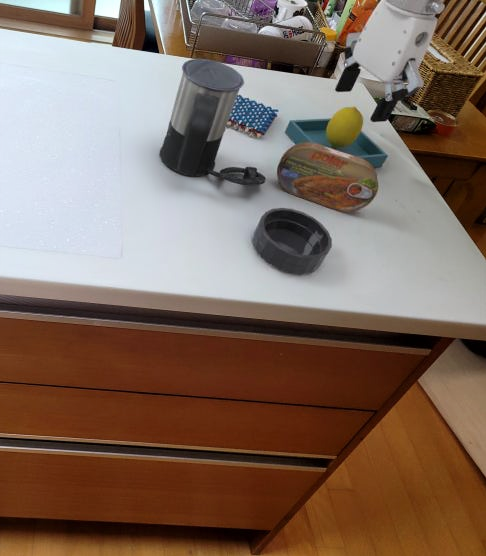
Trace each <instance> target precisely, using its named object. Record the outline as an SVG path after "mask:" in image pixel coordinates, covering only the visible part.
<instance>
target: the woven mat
mask: <svg viewBox="0 0 486 556" xmlns="http://www.w3.org/2000/svg"><path fill="white" fill-rule="evenodd" d="M278 113H279V109H277V108H274V107H272V106H268V105H266V106H265V104H264V103H263V102H259V101H257V100H252V99H250V97H246V96H243V95H242V94H238V95H237V98H236V100H235V103H234V106H233V109H232V112H231V115H230V117H229V120H228V123H227V126H230V127H231V126H232V129H234V130H236V129H237V128H238V132H240V133H241V132H243V131H244V133H247V134H248V133H249V138H254V136H255V134H256V137H257V139H260V138H261V137H262V136H265V135H266V133H267V131H268V130H269V128H270V127H271V125H272V124H273V122H274V121H275V119H276V118H277V117H278Z"/></svg>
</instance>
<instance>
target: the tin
mask: <svg viewBox="0 0 486 556" xmlns="http://www.w3.org/2000/svg"><path fill="white" fill-rule="evenodd" d="M276 177H277V182H278V183H279V185H280V186H281V188H282V189H283V190H284V191H285V192H286V193H289V194H290V195H293V196H296V197H298V198H301V199H304V200H307V201H310V202H313V203H316V204H319V205H321V206H324V207H327V208H330V209H332V210H335V211H338V212H346V213H348V212H356V211H358V210H362V209H364V208H365V207H367V206H368V205H370V203H372V202H373V201H374V199H375V198H376V196H377V194H378V191H379V179H378V174H377V171H376V168H374V167H373V166H372V165H371V164H370V163H369V162H367V161H366V160H364V159H361V158H359V157H356V156H353V155H349V154H347V153H343V152H340V151H337V150H334V149H331V148H328V147H325V146H322V145H319V144H316V143H312V142H304V143H299V144H294V145H292V146H291V147H289V148H288V149H287V150H286V151H285V152H284V153H283V154H282V156H281V158H280V160H279V162H278V165H277V168H276Z"/></svg>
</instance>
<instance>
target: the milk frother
mask: <svg viewBox="0 0 486 556" xmlns="http://www.w3.org/2000/svg"><path fill="white" fill-rule="evenodd" d="M181 70H182V75H181V78H180V82H179V85H178V88H177V93H176V96H175V99H174V103H173V108H172V111H171V116H170V119H169V123H168V126H167V131H166V134H165V137H164V138H163V139H164V140H163V142H162V145H161V148H160V150H159V158H160V160H161V161H162V163H163V164H164V165H165V166H167V168H169V169H171V170H172V171H174V172H177V173H179V174H181V175H185V176H189V177H193V176H194V177H200V176H205V175H208V174H210V175H212V176H214V177H216V178H218V179H221V180H224V181H226V182H230V183H233V184H238V185H243V186H262V185H264V184H265V183H266V180H267V177H266V176H265V175H264V174H262V173H260V172H259V171H258V168H257V167H255V166H245V167H239V166H237V167H236V166H229V167H225V168H221V169H220V171H217V170H214V169H215V167H216V159H217V156H218V152H219V149H220V146H221V143H222V140H223V137H224V134H225V131H226V129H227V126H228V120H229V117H230V115H231V112H232V109H233V106H234V103H235V100H236V98H237V95H239V92H240V89H241V88H243V86H244V84H245V80H244V77H243V75H242V74H241V73H240V72H239V71H237V70H236V69H235V68H233V67H231V66H229V65H227V64H225V63H222V62H220V61H216V60H212V59H205V58H193V59H189V60H187V61H185V62H184V63H183V64H182V66H181ZM233 174H242V175H243V176H242V177H238V176H235V175H233Z"/></svg>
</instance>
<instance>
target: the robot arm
mask: <svg viewBox="0 0 486 556" xmlns="http://www.w3.org/2000/svg"><path fill="white" fill-rule="evenodd" d="M443 1H444V0H380V1H379V2H378V3H377V5H376V7H375V8H374V10H373V11H372V13H371V15H370V16H369V18H368V20H367V21H366V22H365V25H364V27H363V28H362V31H360V32H351V33H348V34H347V35H346V42H345V48H344V52H343V53H344V61H343V63H342V67H343V71H342V73H341V75H340V77H339V79H338V81H337V84H336V86H335V88H334V91H335V92H336V93H350V92H352V90H353V88H354V87H355V84H356V82H357V81H358V78H359V77H360V74H361V71H362V69H361V68H360V67H362V68H363V69H364V70H366V72H368V73H369V74H371V75H372V76H373V77H375V79H377V80H379V82H381V83H383V84H384V97H381V98H379V101H378V103H377V105H376V107H375V108H374V110H373V112H372V114H371V116H370V119H369V120H370V121H371V122H372V123H382V122H387V121H388V120H389V118H390V117H391V116H392V113H393V112H394V110H395V108H396V106H397V104H398V103H399V102H400V101H404V100H405V99H408V98H411V97H412V96H413V95H414V94H416V93H417V92H418V91H420V90H421V89H422V88H423V87H424V86H425V82H424V79H423V77H422V75H421V71H420V70H419V68H420V66H421V64H422V62H423V60H424V58H425V55H426V54H427V52H428V49H429V46H430V44H431V41H432V40H433V36H434V33H435V30H436V27H437V25H438V24H437V23H438V20H439V19H438V18H437V17H436V15H439V14H441V13H442V12H443V11H444V9H445V7H446V6H445V4H444V3H443ZM405 84H407V85H405Z"/></svg>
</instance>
